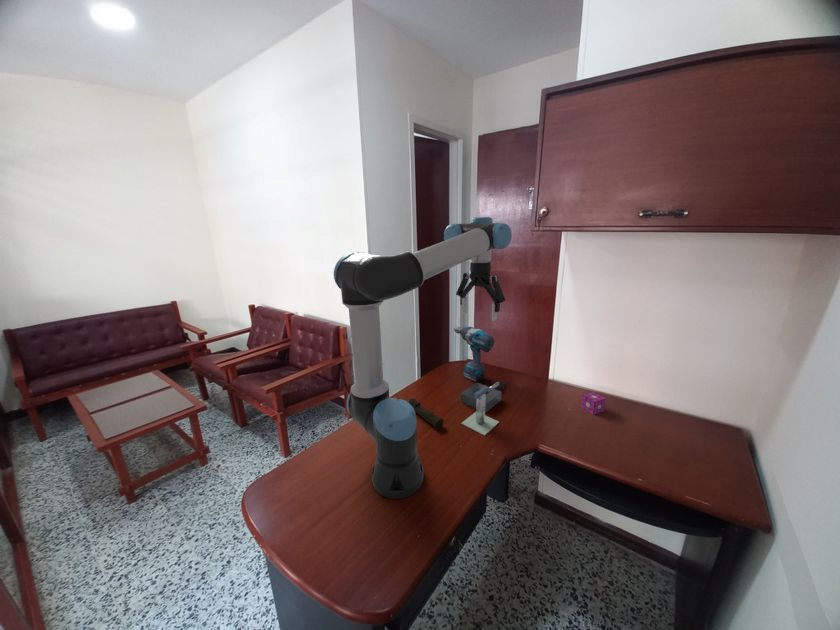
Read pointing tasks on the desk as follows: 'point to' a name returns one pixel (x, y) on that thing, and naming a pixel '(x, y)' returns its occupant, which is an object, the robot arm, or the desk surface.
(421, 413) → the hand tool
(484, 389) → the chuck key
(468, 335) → the impact wrench
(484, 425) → the mat
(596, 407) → the puzzle toy
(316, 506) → the desk surface
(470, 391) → the block
